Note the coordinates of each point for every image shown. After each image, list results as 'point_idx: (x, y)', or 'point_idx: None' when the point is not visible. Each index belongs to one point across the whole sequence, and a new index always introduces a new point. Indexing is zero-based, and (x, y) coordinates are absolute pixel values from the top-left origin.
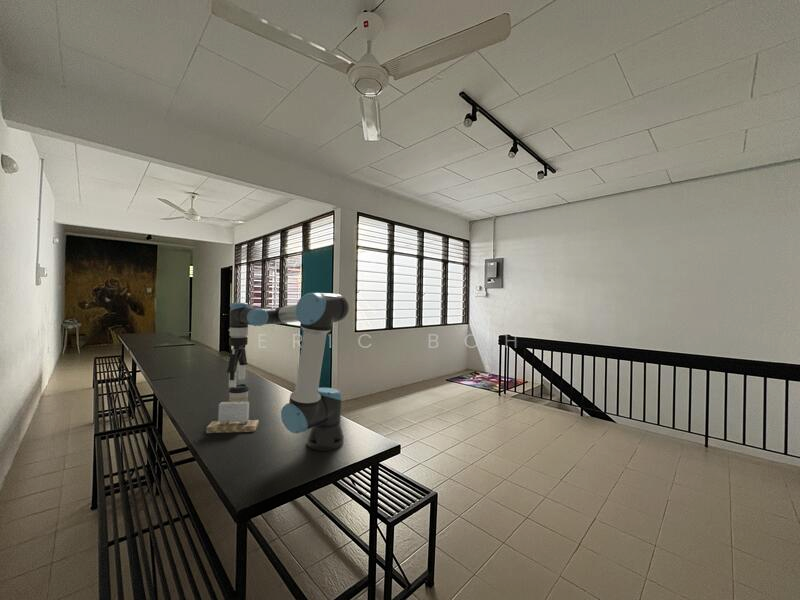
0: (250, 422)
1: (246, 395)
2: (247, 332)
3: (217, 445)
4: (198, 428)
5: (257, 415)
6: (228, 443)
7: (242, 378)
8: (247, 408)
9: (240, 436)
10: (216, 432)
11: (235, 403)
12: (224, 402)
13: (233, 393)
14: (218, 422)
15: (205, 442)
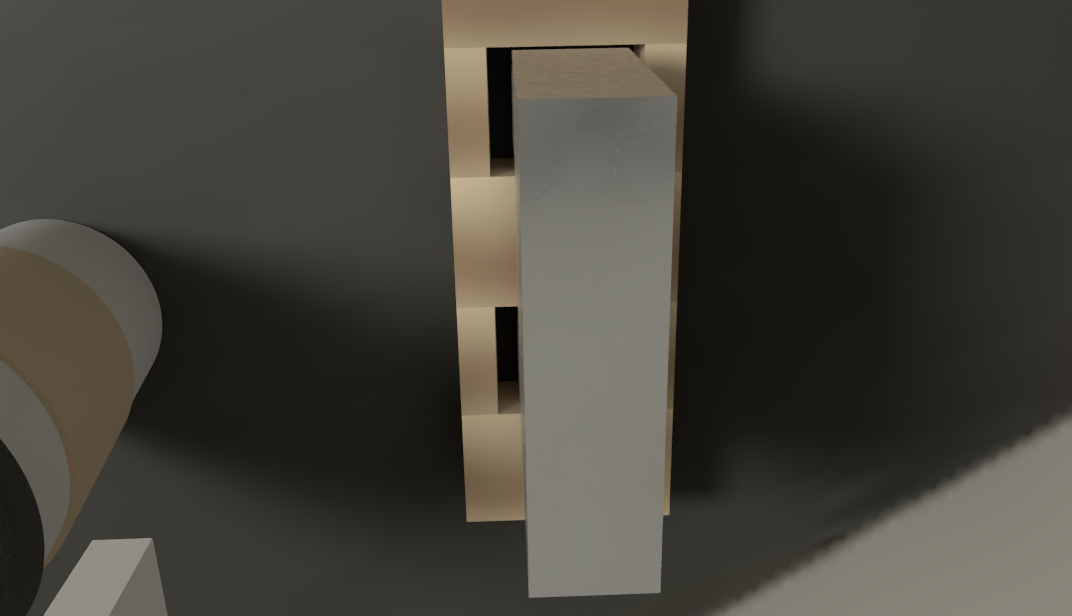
0: (540, 4)
1: None
2: None
3: (1024, 240)
4: (520, 598)
5: (38, 24)
6: (998, 133)
7: (159, 607)
8: (635, 79)
9: (815, 48)
10: None
11: (630, 340)
12: (560, 541)
13: (36, 563)
14: (520, 441)
15: (914, 392)
